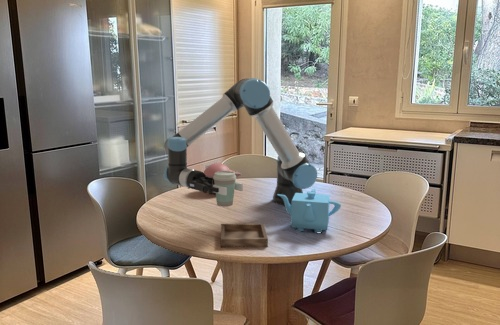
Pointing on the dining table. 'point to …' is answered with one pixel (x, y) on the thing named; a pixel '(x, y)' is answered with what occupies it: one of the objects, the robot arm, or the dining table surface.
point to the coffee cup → (226, 181)
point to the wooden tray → (243, 235)
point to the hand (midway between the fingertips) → (234, 189)
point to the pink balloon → (218, 167)
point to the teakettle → (310, 210)
